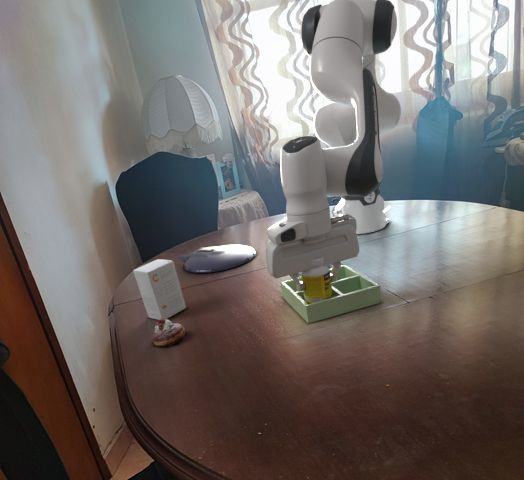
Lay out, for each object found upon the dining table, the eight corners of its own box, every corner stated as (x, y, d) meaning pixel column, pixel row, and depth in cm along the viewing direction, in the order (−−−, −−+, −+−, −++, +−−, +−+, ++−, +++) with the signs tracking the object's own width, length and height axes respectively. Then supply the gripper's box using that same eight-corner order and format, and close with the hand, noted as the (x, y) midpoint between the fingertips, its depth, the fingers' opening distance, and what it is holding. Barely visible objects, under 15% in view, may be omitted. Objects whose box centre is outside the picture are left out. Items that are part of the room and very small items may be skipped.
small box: (171, 305, 123) (157, 258, 117) (186, 308, 120) (173, 260, 113) (147, 317, 118) (132, 269, 112) (162, 321, 114) (147, 272, 108)
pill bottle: (332, 308, 100) (327, 260, 95) (304, 310, 102) (297, 263, 97) (334, 297, 106) (329, 250, 100) (307, 299, 107) (301, 253, 102)
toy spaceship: (162, 267, 155) (159, 258, 153) (214, 244, 169) (212, 236, 167) (217, 277, 136) (215, 267, 135) (271, 250, 150) (269, 241, 149)
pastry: (156, 334, 109) (150, 315, 106) (187, 328, 108) (182, 309, 106) (151, 350, 102) (144, 330, 99) (184, 344, 101) (178, 323, 99)
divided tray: (283, 297, 115) (280, 282, 113) (346, 279, 118) (345, 264, 116) (308, 323, 100) (306, 306, 98) (381, 302, 103) (380, 285, 101)
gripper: (348, 209, 100) (353, 270, 106) (259, 232, 96) (269, 293, 103) (362, 214, 94) (366, 278, 101) (267, 238, 91) (278, 302, 97)
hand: (317, 285), depth 102 cm, fingers closed on pill bottle, 6 cm apart
